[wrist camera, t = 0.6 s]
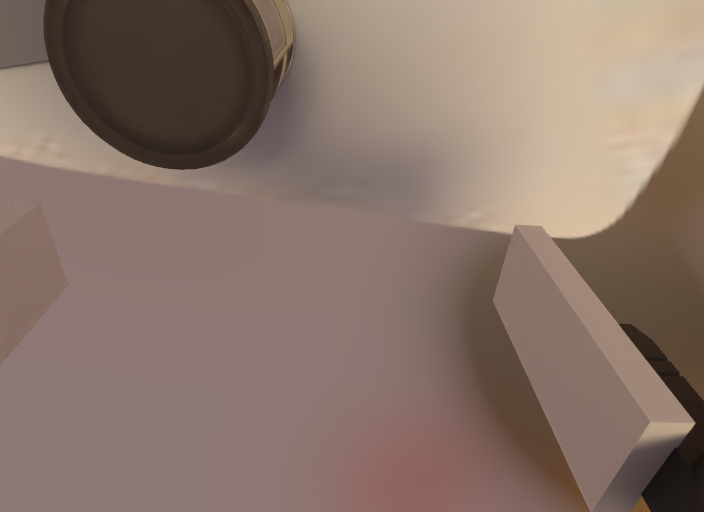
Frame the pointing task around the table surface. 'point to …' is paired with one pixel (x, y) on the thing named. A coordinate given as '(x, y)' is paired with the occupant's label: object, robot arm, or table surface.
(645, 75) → the table surface
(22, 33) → the slate coaster
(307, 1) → the table surface
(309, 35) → the table surface
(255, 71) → the coffee can
